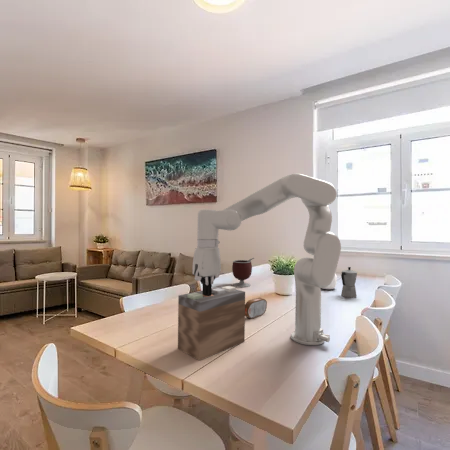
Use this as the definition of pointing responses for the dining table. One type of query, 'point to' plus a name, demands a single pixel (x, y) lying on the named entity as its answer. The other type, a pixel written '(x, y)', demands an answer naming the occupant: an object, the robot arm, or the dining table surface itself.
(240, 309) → the console
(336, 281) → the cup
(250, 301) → the tin
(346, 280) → the coffeepot
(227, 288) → the cream key
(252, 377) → the dining table surface
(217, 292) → the grey key
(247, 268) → the mate gourd
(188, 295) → the sage key
